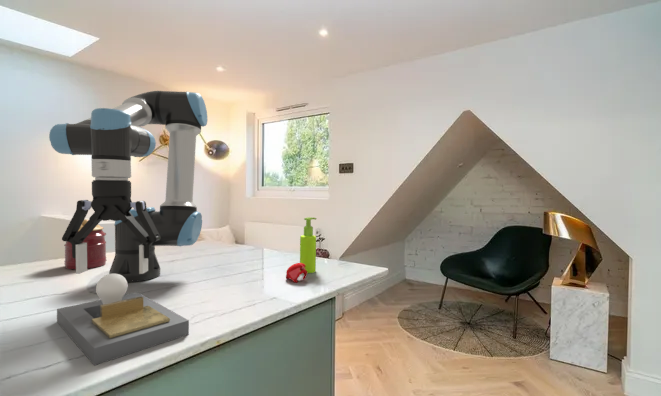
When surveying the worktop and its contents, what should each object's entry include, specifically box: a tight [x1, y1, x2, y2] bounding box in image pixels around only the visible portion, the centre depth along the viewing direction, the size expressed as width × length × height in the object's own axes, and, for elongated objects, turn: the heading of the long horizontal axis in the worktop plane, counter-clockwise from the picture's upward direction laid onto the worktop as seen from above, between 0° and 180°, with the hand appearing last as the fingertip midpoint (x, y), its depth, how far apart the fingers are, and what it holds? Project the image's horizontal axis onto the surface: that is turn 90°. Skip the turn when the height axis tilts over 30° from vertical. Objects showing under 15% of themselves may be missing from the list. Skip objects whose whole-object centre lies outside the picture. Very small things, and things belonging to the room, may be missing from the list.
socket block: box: [56, 291, 190, 366], centre depth 75 cm, size 28×17×3 cm, turn 49°
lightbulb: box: [95, 273, 129, 305], centre depth 78 cm, size 6×6×11 cm
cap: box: [285, 262, 308, 283], centre depth 115 cm, size 8×6×6 cm
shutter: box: [92, 296, 170, 338], centre depth 71 cm, size 11×11×3 cm
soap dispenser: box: [299, 216, 317, 274], centre depth 128 cm, size 6×7×20 cm
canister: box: [64, 218, 107, 270], centre depth 129 cm, size 13×13×18 cm
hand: (113, 272), depth 78 cm, fingers open, 13 cm apart
